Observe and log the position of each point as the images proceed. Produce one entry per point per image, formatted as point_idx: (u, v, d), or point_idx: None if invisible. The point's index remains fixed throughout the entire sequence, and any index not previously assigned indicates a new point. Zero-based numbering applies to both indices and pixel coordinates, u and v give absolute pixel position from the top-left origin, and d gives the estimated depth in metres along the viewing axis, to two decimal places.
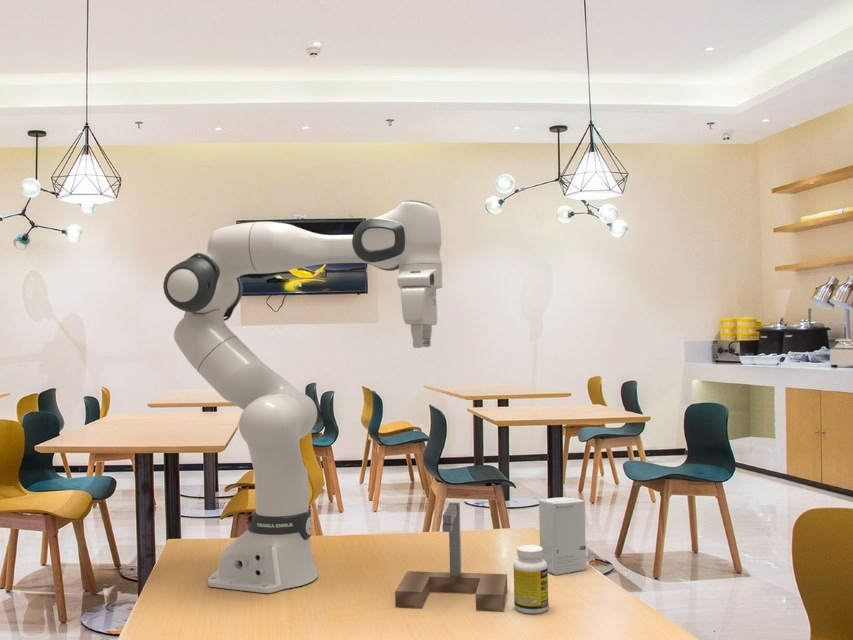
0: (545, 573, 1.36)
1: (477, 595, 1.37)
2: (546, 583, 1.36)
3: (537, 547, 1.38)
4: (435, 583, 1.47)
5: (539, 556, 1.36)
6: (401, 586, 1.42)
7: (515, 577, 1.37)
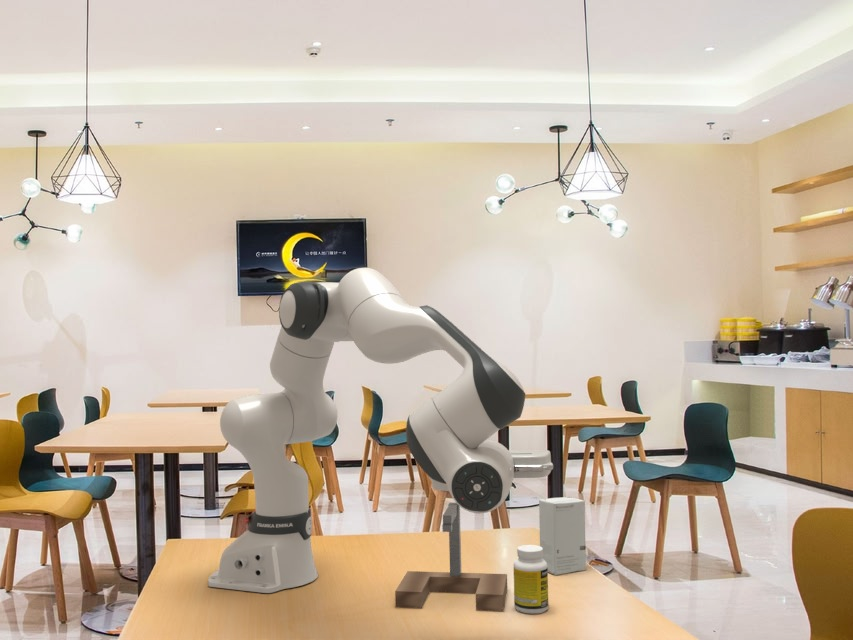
0: (545, 573, 1.36)
1: (477, 595, 1.37)
2: (546, 583, 1.36)
3: (537, 547, 1.38)
4: (435, 583, 1.47)
5: (539, 556, 1.36)
6: (401, 586, 1.42)
7: (515, 577, 1.37)
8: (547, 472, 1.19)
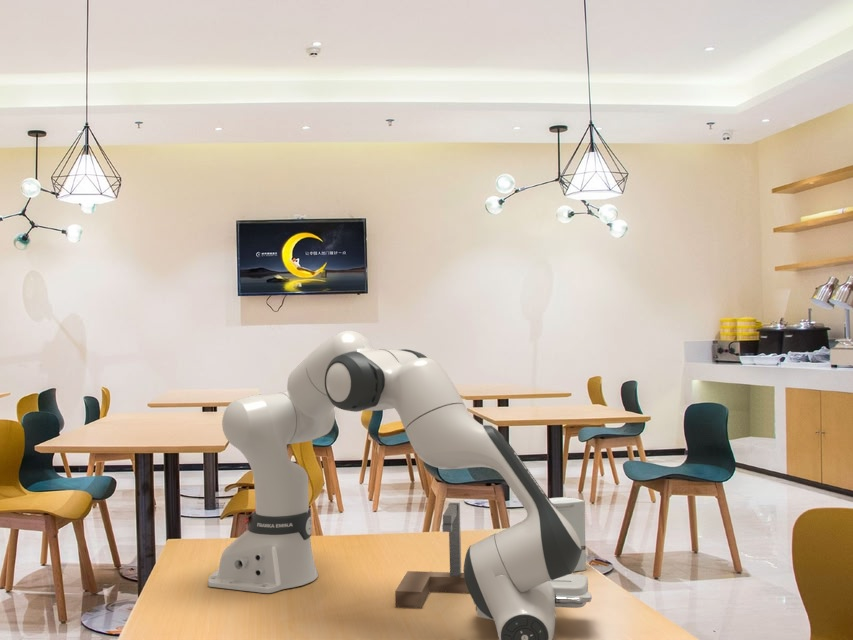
0: None
1: None
2: None
3: None
4: (435, 583, 1.47)
5: None
6: (401, 586, 1.42)
7: None
8: (585, 601, 1.26)
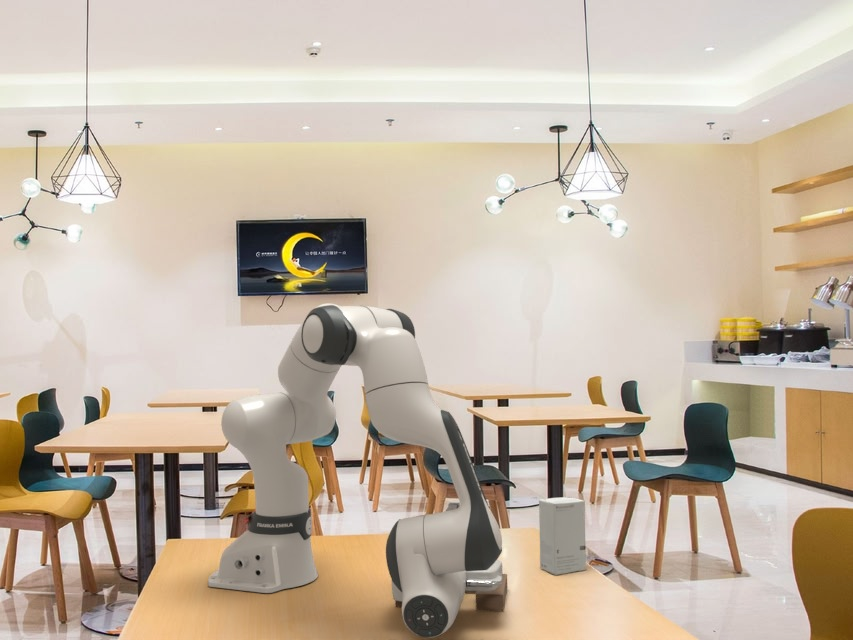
0: None
1: (477, 595, 1.37)
2: None
3: None
4: None
5: None
6: None
7: None
8: (497, 585, 1.31)
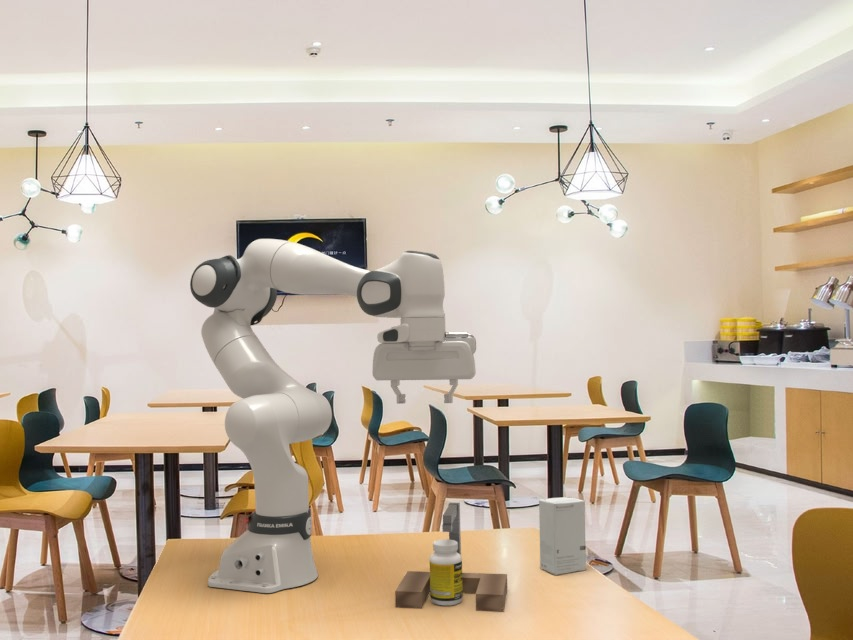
0: (459, 566, 1.41)
1: (477, 595, 1.37)
2: (460, 576, 1.41)
3: (452, 541, 1.43)
4: None
5: (453, 550, 1.41)
6: (401, 586, 1.42)
7: (430, 570, 1.42)
8: (470, 349, 1.45)
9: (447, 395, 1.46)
